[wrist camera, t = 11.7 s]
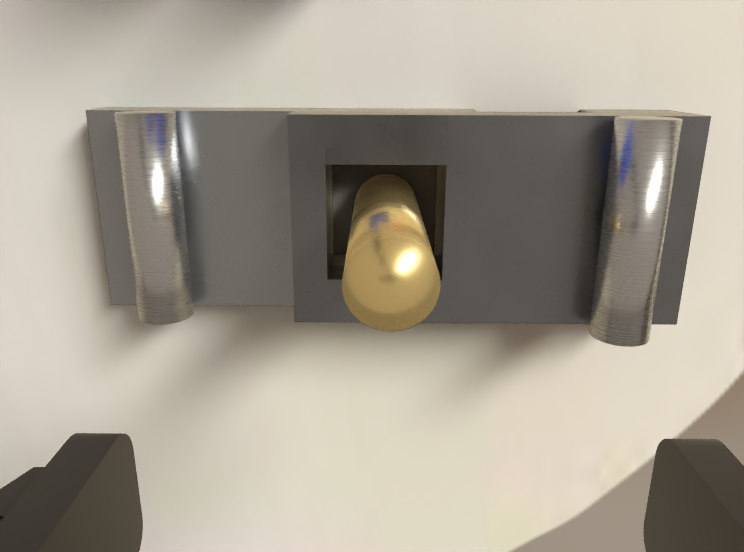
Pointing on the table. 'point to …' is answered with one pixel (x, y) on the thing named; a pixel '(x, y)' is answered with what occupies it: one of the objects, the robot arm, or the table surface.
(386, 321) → the pin
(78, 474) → the robot arm
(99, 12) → the table surface
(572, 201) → the grey plate with pins
